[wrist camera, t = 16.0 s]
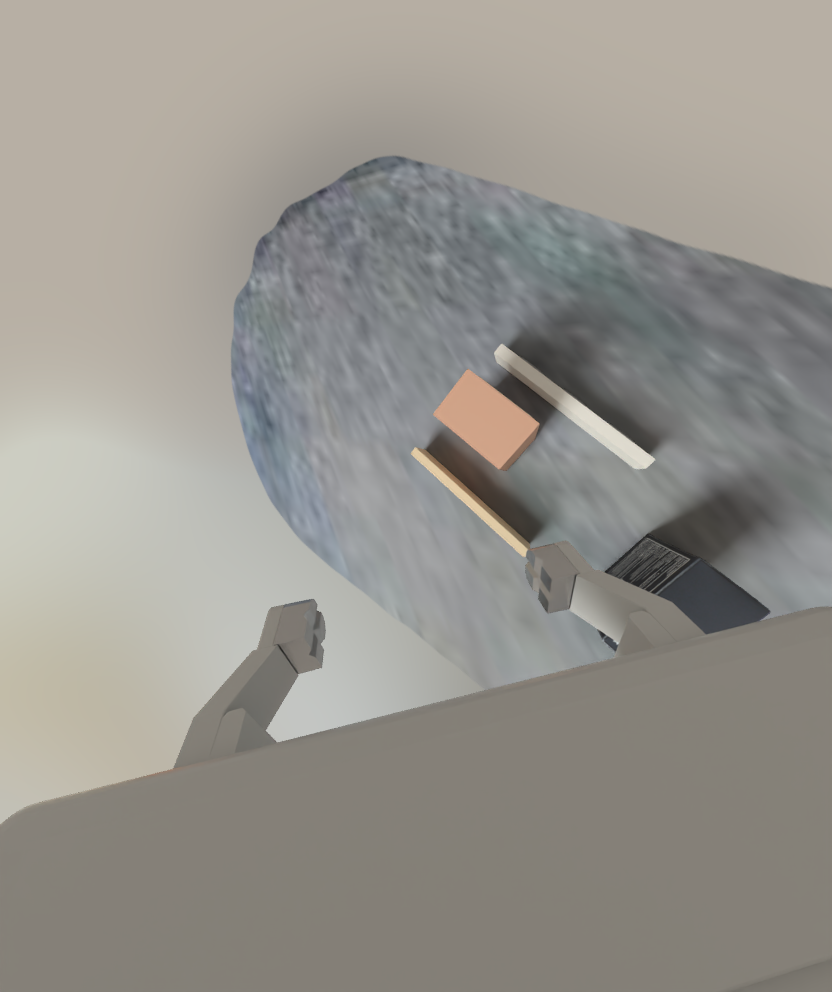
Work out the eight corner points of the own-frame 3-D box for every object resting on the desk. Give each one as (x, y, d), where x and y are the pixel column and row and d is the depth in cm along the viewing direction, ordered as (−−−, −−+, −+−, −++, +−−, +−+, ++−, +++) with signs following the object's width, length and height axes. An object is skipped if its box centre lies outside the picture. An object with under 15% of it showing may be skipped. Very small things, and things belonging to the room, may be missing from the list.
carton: (506, 470, 39) (499, 469, 27) (458, 431, 40) (432, 414, 29) (536, 437, 37) (541, 421, 26) (485, 398, 39) (469, 366, 27)
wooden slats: (646, 458, 34) (661, 456, 30) (536, 560, 38) (537, 570, 34) (505, 351, 38) (503, 338, 34) (420, 455, 42) (410, 453, 38)
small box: (624, 636, 35) (663, 699, 26) (577, 595, 37) (596, 640, 27) (702, 572, 33) (779, 615, 23) (647, 531, 34) (698, 554, 24)
